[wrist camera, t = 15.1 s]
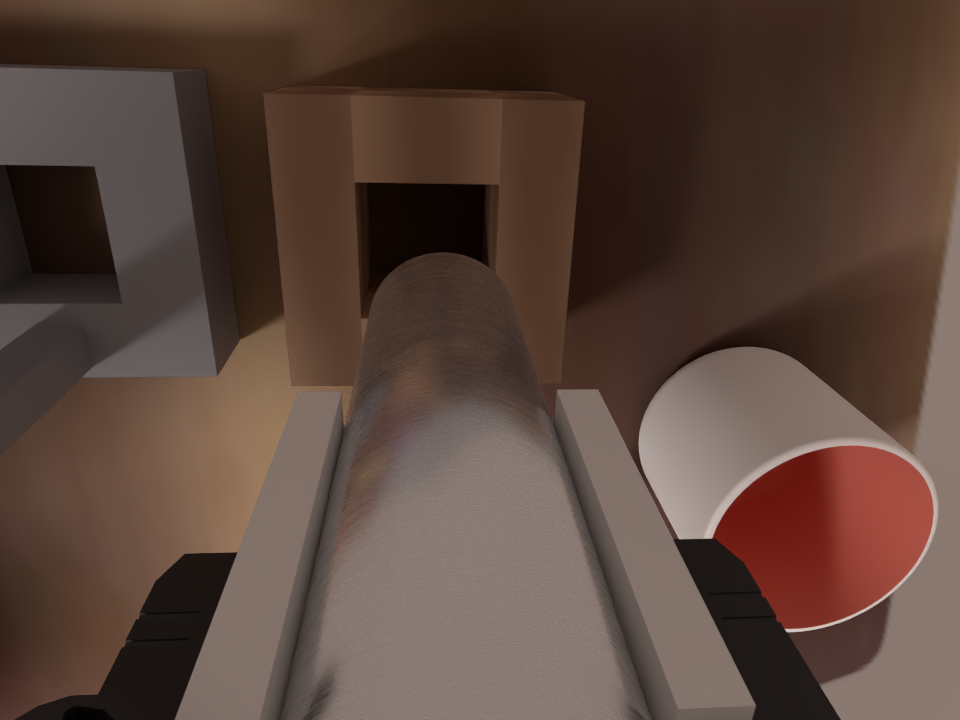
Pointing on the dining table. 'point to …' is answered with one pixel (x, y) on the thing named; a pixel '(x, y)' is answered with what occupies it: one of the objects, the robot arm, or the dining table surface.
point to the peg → (455, 530)
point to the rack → (417, 159)
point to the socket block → (114, 235)
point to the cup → (788, 483)
